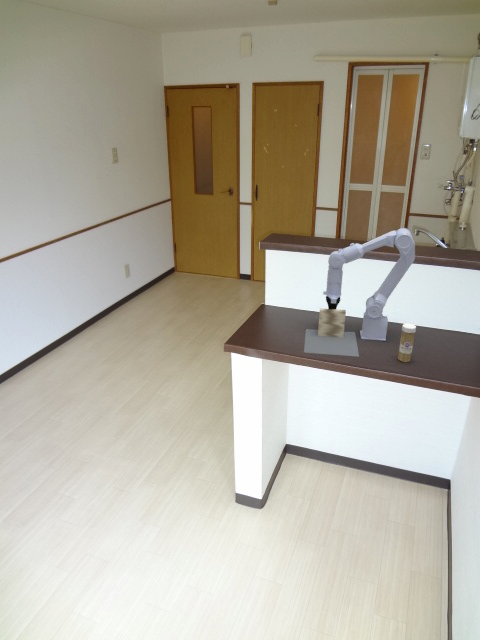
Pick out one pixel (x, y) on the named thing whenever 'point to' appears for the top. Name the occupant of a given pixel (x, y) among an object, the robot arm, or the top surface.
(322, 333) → the teal framed tile
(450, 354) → the top surface
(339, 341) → the slate mat
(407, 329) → the sprinkles bottle
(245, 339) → the top surface
